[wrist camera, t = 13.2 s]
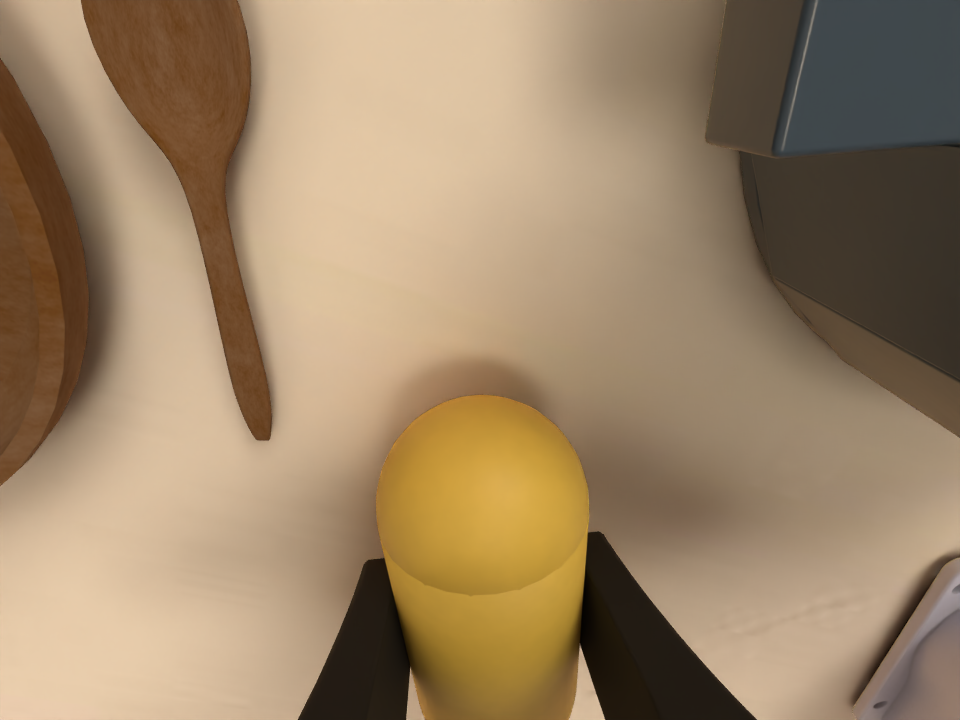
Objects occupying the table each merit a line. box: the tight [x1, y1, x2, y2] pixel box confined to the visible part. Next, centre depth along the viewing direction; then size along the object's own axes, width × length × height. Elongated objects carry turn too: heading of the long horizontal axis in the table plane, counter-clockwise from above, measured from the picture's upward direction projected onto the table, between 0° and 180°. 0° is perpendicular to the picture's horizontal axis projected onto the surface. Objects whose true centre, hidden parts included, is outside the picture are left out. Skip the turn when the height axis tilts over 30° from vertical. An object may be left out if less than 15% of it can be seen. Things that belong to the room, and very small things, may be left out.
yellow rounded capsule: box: [376, 395, 589, 720], centre depth 10 cm, size 9×4×4 cm, turn 3°
